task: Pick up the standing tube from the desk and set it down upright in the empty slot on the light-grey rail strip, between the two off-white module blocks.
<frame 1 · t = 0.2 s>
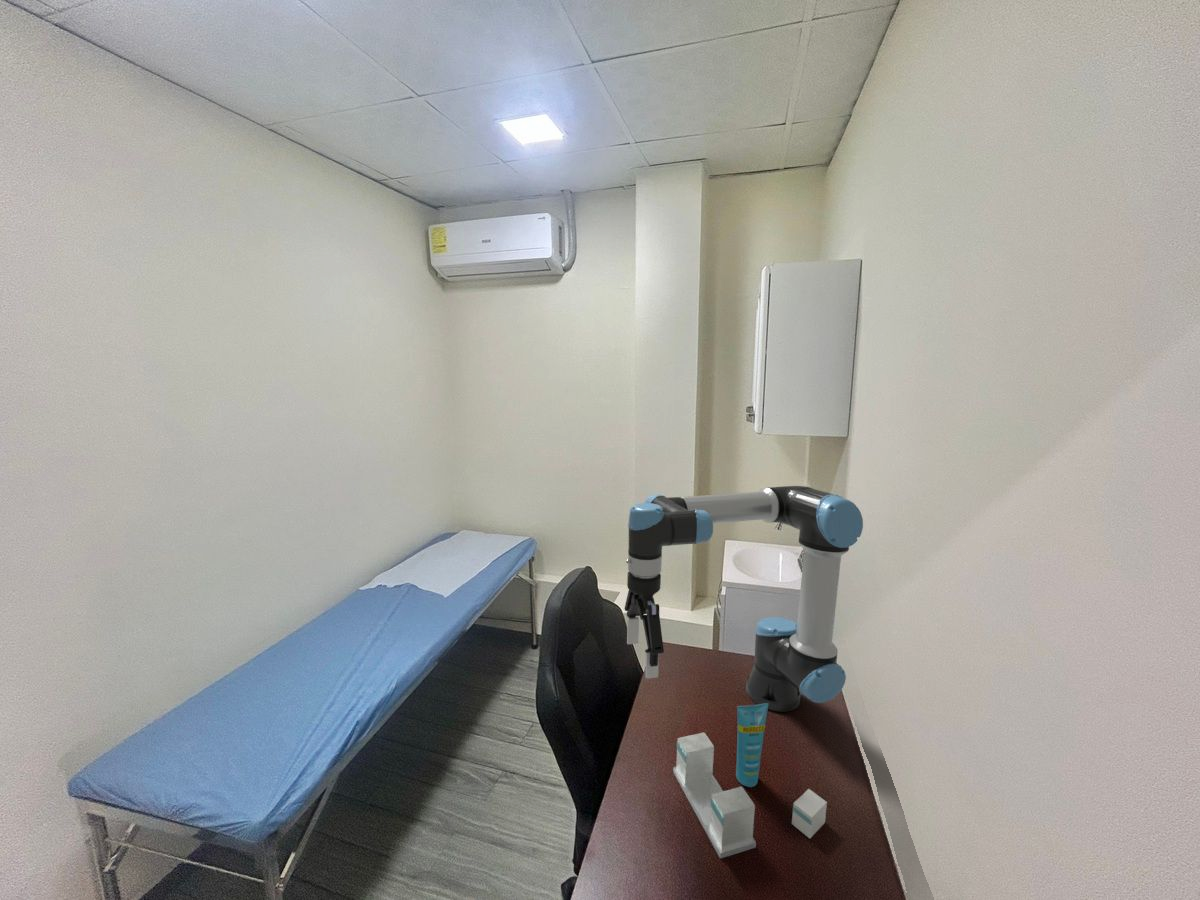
hand: (641, 659, 107), 28 cm above the table, fingers open, 13 cm apart
tube: (747, 779, 108), on the table
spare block: (808, 823, 97), on the table
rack: (710, 806, 100), on the table
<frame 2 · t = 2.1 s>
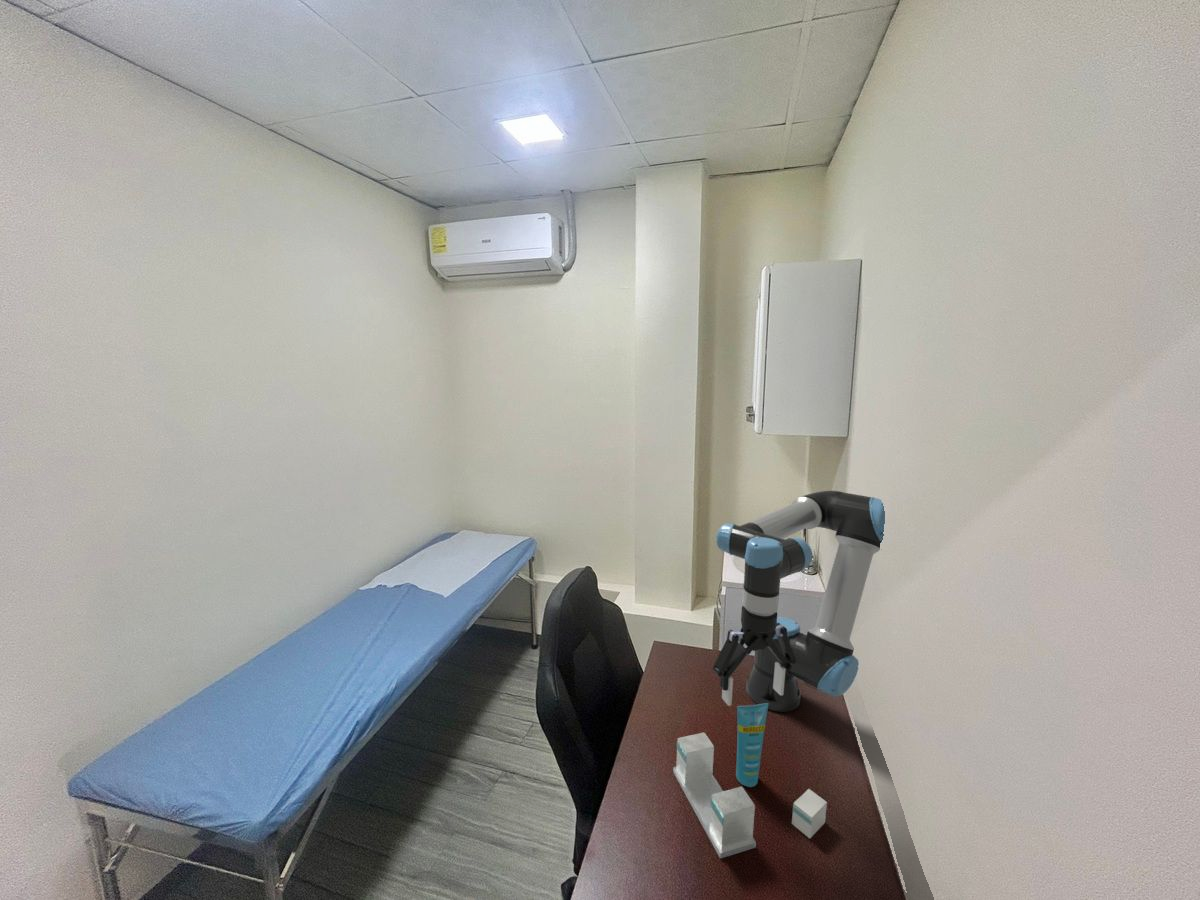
hand: (752, 696, 105), 21 cm above the table, fingers open, 13 cm apart
nothing on the table moved.
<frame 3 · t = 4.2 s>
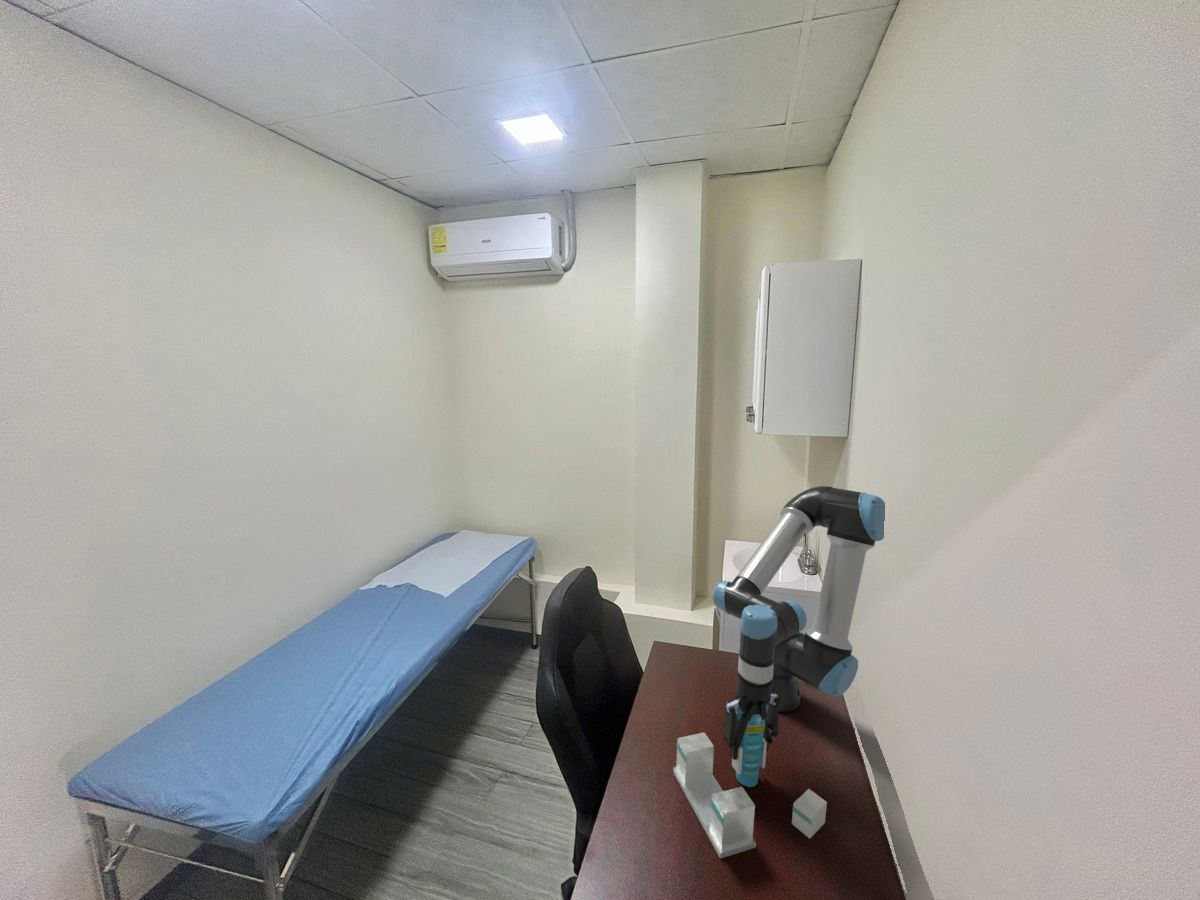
hand: (748, 766, 107), 3 cm above the table, fingers closed on tube, 6 cm apart
tube: (747, 779, 108), on the table, touching gripper
everything else where it was.
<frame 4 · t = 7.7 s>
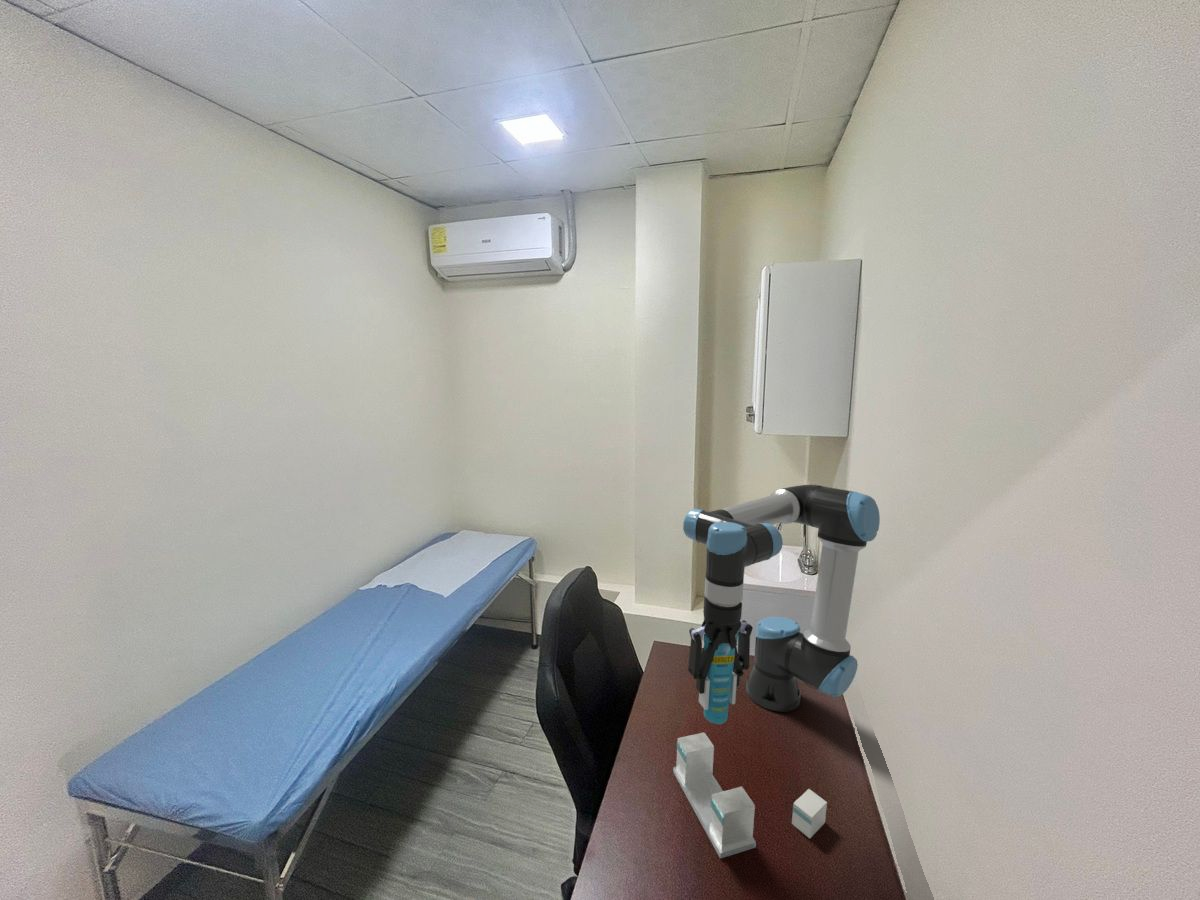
hand: (716, 702, 97), 25 cm above the table, fingers closed on tube, 6 cm apart
tube: (716, 717, 97), point 21 cm above the table, touching gripper
everything else where it was.
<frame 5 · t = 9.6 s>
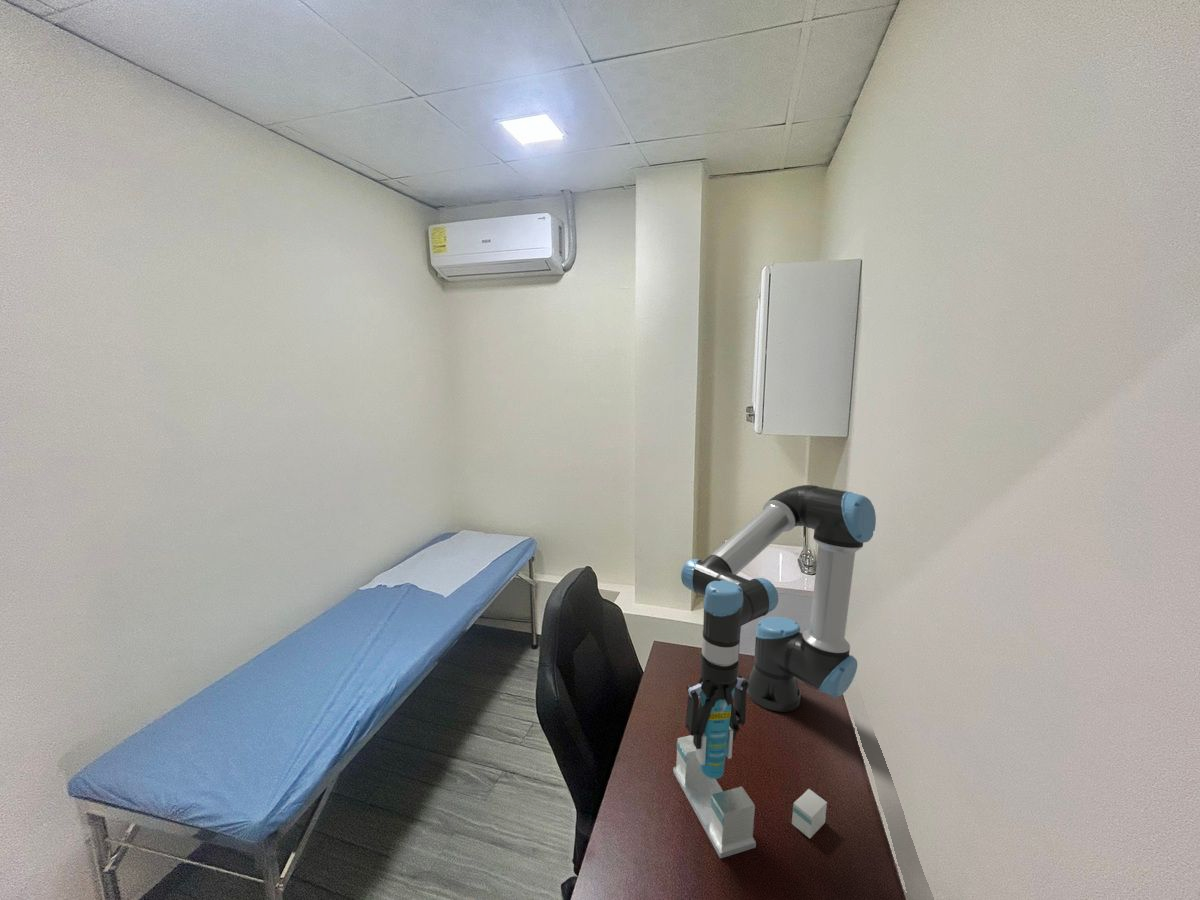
hand: (713, 756, 99), 12 cm above the table, fingers closed on tube, 6 cm apart
tube: (712, 771, 99), point 9 cm above the table, touching gripper
everything else where it was.
when the fingers open (6 cm above the table, at t = 11.3 s): tube drops 1 cm, resting on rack.
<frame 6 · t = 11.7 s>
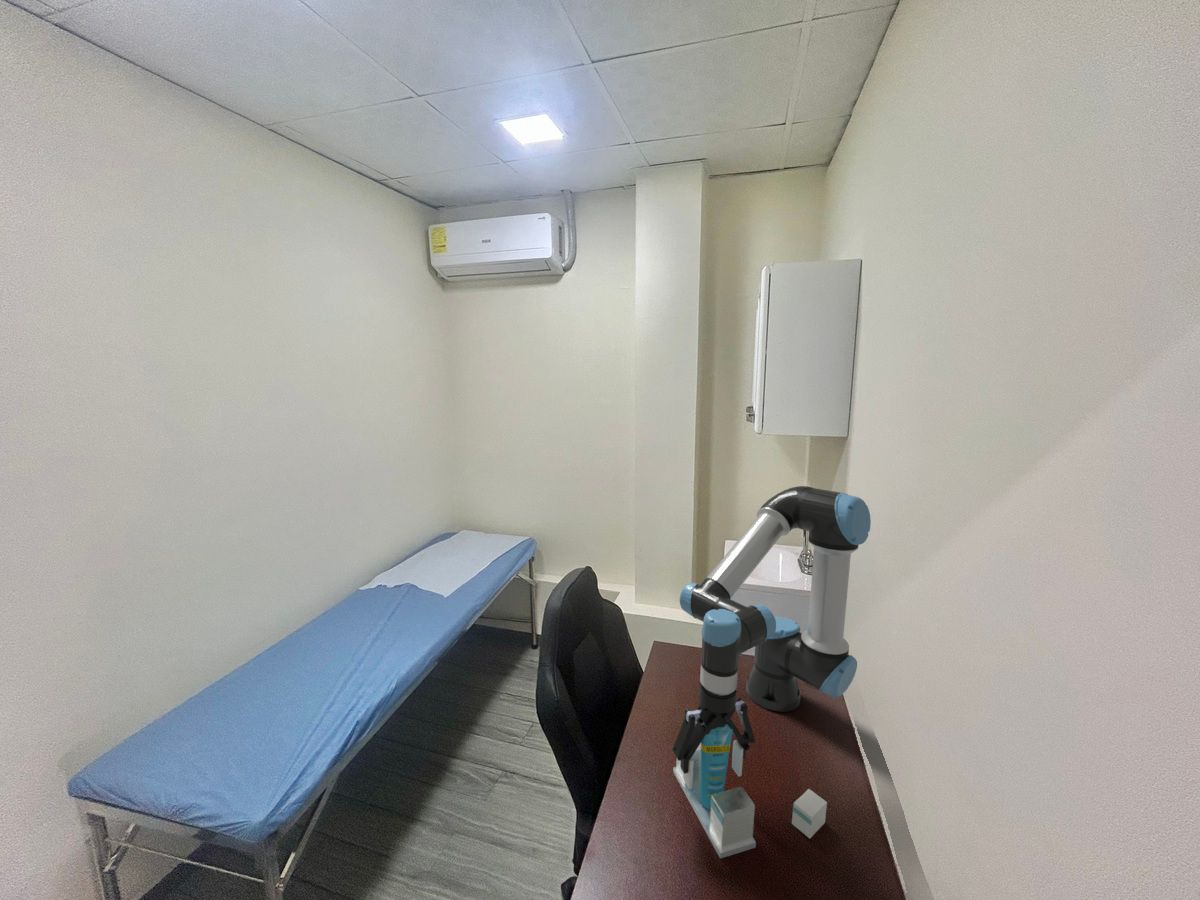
hand: (712, 777, 99), 7 cm above the table, fingers open, 11 cm apart
tube: (711, 801, 100), point 1 cm above the table, touching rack
everything else where it was.
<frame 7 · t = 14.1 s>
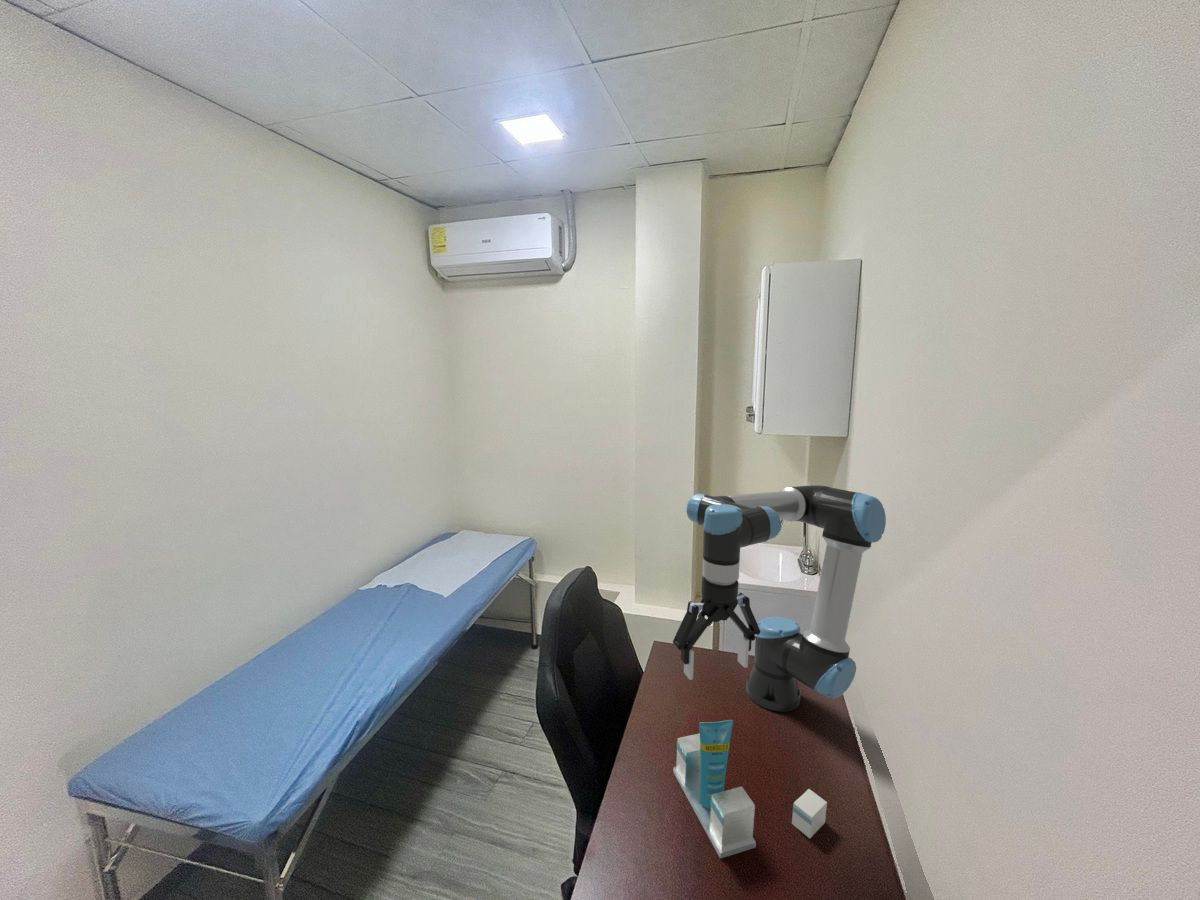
hand: (715, 670, 100), 30 cm above the table, fingers open, 13 cm apart
nothing on the table moved.
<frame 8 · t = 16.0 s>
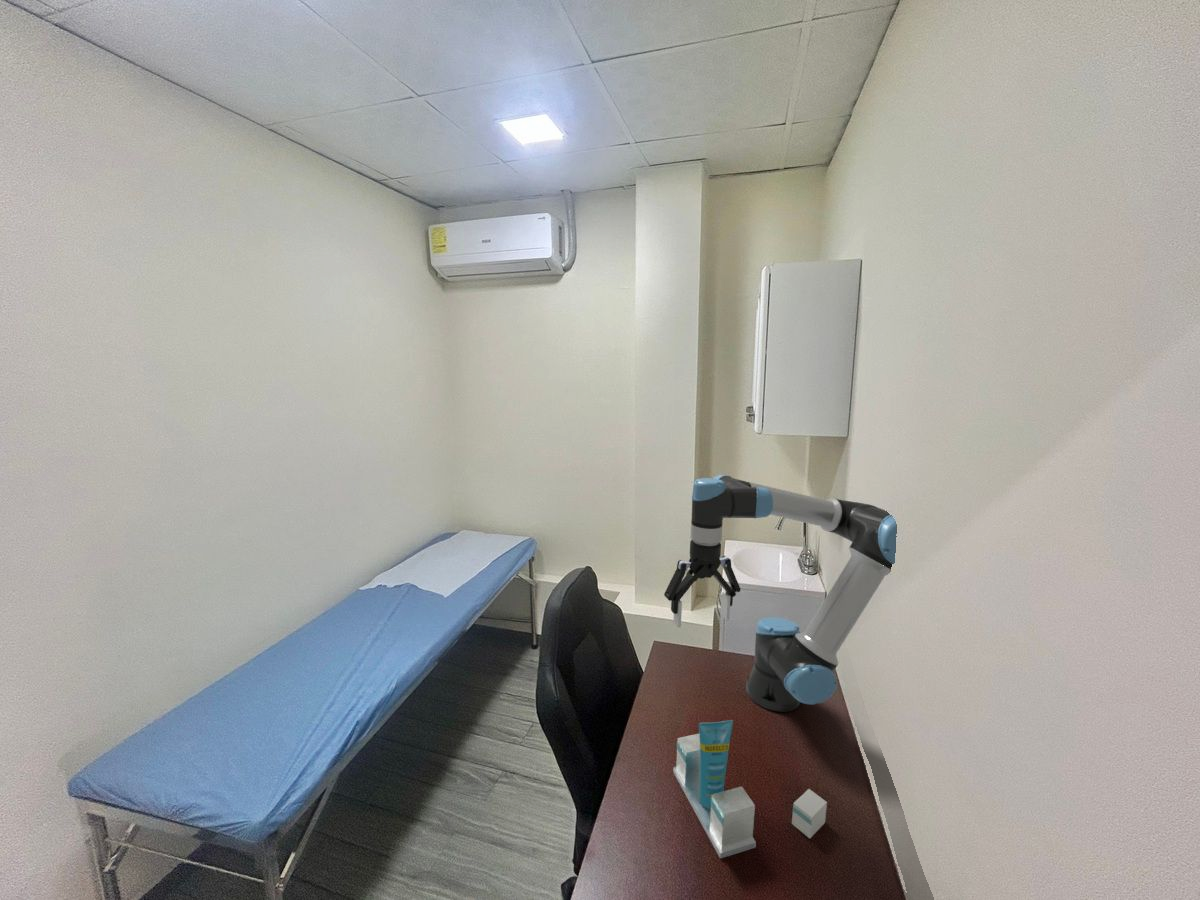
hand: (701, 621, 117), 32 cm above the table, fingers open, 13 cm apart
nothing on the table moved.
at the end: tube inside the target area on the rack (0.1 cm from its centre), point 1.0 cm above the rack's base; tube tilted 0°; the gripper is holding nothing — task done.
